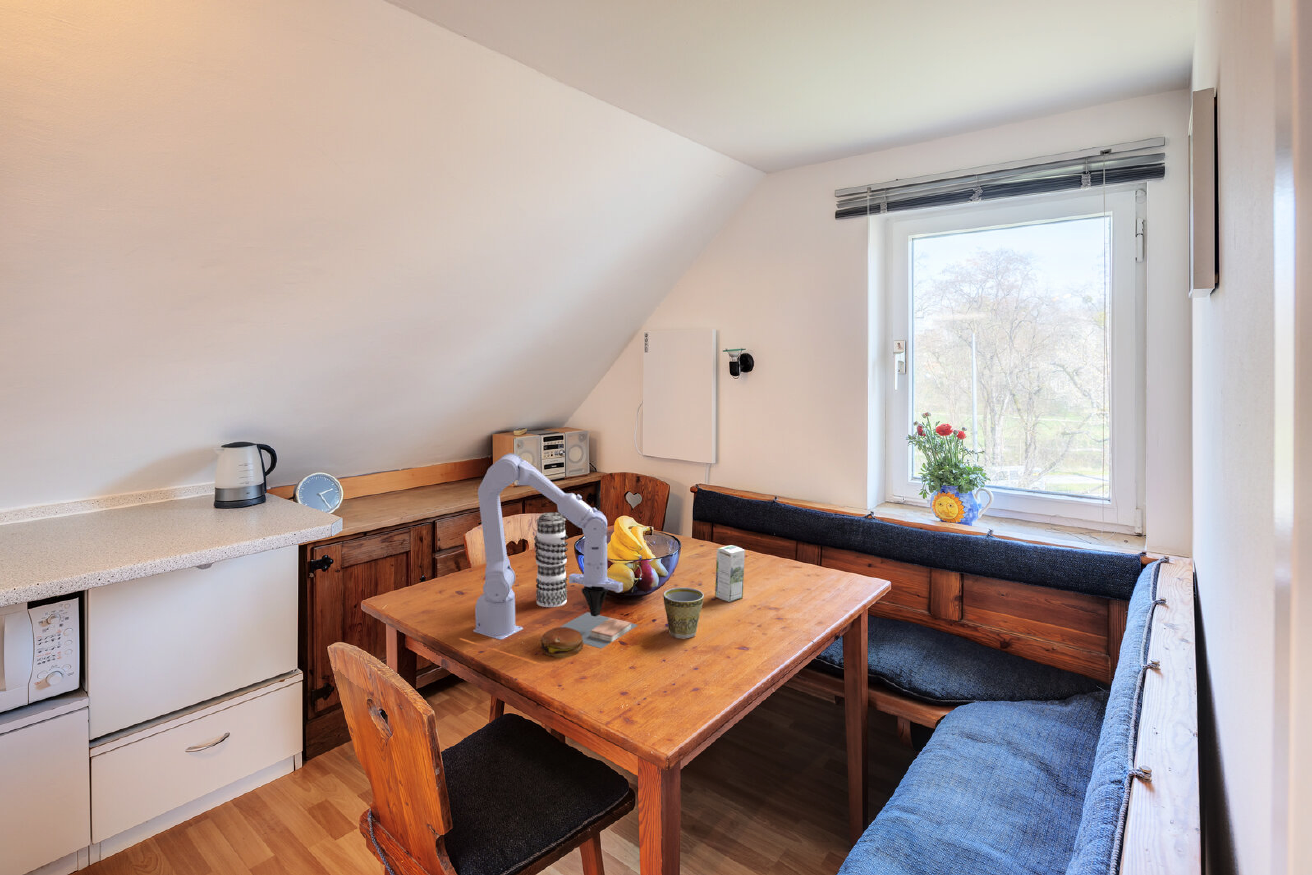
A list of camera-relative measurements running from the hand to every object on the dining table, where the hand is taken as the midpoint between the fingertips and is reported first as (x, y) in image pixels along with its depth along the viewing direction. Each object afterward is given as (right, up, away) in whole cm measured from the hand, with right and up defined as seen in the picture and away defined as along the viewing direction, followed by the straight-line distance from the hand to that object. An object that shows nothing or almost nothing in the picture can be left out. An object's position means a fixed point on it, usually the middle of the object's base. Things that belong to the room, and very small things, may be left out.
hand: (595, 614), depth 166 cm
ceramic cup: (+22, -5, +1) cm, 22 cm away
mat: (0, -4, +1) cm, 4 cm away
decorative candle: (-14, -2, +19) cm, 24 cm away
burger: (-7, -6, -10) cm, 14 cm away
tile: (+1, -3, 0) cm, 3 cm away
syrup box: (+36, -2, +24) cm, 43 cm away
